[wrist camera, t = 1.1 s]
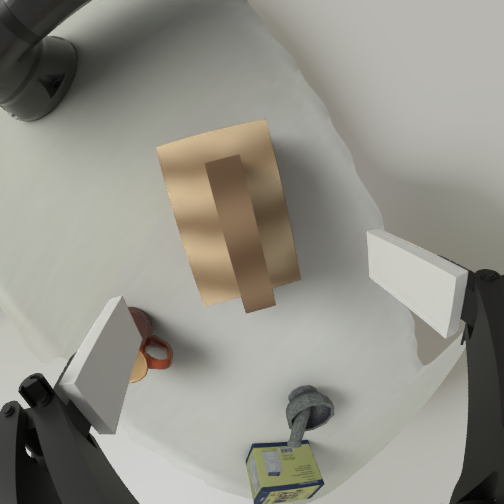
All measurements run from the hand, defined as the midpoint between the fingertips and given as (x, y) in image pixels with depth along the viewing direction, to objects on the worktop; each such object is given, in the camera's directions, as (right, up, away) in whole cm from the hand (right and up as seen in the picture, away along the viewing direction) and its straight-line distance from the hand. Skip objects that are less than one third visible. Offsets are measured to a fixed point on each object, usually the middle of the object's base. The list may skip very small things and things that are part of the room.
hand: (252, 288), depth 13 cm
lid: (-2, +6, +17) cm, 19 cm away
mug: (-18, -10, +29) cm, 36 cm away
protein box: (+7, -52, +45) cm, 69 cm away
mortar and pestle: (+10, -29, +39) cm, 50 cm away
